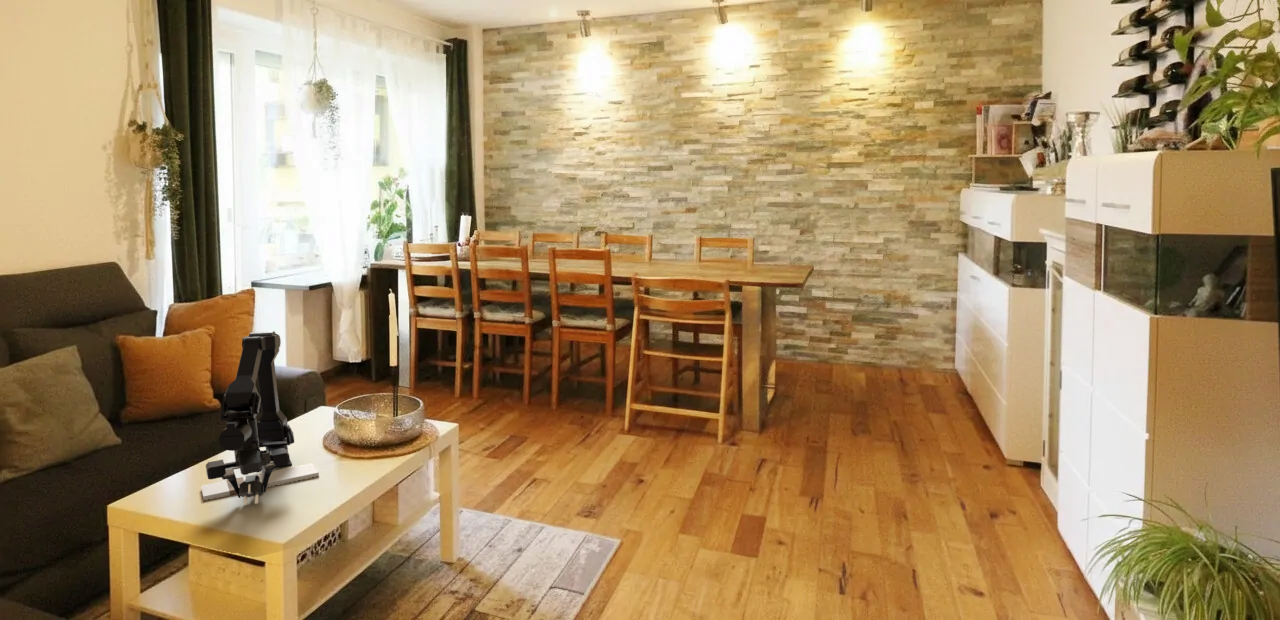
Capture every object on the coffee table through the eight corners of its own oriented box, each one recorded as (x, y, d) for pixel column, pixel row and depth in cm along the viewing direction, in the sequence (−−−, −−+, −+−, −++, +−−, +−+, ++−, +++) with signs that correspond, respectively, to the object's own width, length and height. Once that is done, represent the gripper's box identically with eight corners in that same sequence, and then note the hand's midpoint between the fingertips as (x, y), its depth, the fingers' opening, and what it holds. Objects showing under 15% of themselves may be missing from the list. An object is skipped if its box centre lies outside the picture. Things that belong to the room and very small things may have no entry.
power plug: (270, 482, 206) (261, 471, 196) (270, 511, 203) (260, 501, 193) (247, 485, 205) (236, 474, 194) (246, 514, 201) (235, 504, 191)
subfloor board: (201, 489, 205) (201, 485, 205) (313, 467, 220) (312, 462, 220) (203, 500, 198) (203, 496, 198) (318, 476, 213) (318, 472, 213)
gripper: (206, 454, 183) (213, 515, 186) (290, 438, 193) (296, 496, 196) (202, 440, 192) (209, 499, 195) (283, 426, 202) (289, 482, 205)
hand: (251, 494), depth 198 cm, fingers closed on power plug, 5 cm apart
